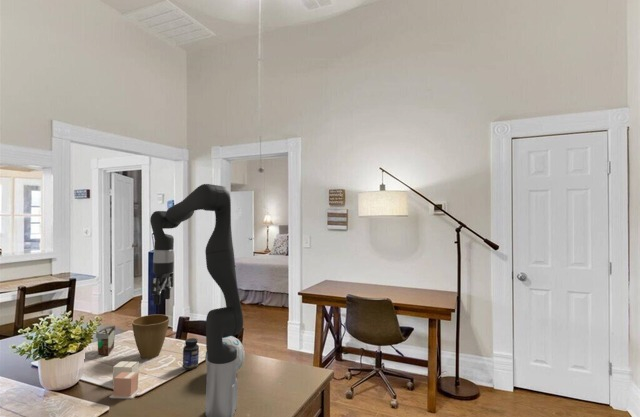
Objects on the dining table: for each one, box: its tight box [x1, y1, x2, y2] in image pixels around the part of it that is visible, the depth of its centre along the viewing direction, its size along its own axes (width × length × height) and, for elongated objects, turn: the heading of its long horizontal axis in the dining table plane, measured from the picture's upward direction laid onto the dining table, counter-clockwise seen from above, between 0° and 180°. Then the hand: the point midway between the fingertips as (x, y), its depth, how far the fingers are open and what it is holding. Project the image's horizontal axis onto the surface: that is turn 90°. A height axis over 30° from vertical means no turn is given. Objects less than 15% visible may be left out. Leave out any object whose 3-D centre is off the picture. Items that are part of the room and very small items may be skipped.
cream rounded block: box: [112, 360, 140, 384], centre depth 130 cm, size 7×5×6 cm
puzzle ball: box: [205, 335, 246, 373], centre depth 137 cm, size 15×15×15 cm
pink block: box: [112, 372, 139, 396], centre depth 120 cm, size 6×4×6 cm
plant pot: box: [131, 314, 170, 360], centre depth 153 cm, size 15×15×16 cm
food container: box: [95, 325, 116, 357], centre depth 155 cm, size 12×6×10 cm, turn 17°
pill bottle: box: [182, 337, 200, 371], centre depth 143 cm, size 6×6×11 cm
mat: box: [108, 388, 142, 400], centre depth 120 cm, size 8×6×1 cm
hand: (162, 301), depth 137 cm, fingers open, 8 cm apart
